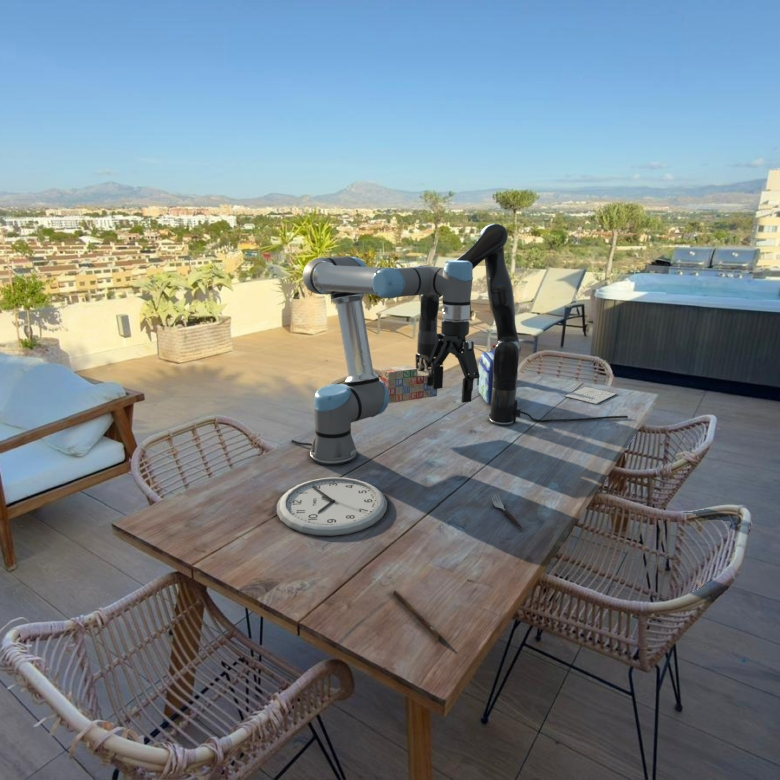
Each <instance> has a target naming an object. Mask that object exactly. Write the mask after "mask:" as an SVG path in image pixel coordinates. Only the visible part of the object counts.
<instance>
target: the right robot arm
mask: <svg viewBox="0 0 780 780" xmlns="http://www.w3.org/2000/svg"><path fill="white" fill-rule="evenodd" d="M508 239H509V234H508V231H507V228H506V227H505V226H504V225H502V224H500V223H492V224H488V225H486V226H485V227H484V228H482V230H481V231H480V234H479V238H478V239H477V240H476V242H475V243H474V244H473V245H472V246H471V247H470V248H469V249H467V251H466V252H464V253H463V254H462V255H461V256H460V257H458V258H456V259H455V260H456V261H469V262H471V263H472V268H473V270H474V269H475V268H476V267H477V266H478V265H479V264H480V263H482V262H483V261H484V265H485V279H486V290H487V298H488V299H487V300H488V304H489V309H490V312H491V315H492V318H493V322H494V324H495V329H496V345H497V346H496V347H495V350H494V360H493V385H492V398H491V404H490V410H489V411H490V413H489V414H488V417H489V422H490V423H491V424H494V425H497V426H511V425H513V424H516V423H517V418H520V417H521V415H525V416H527V417H528V418H529V419H530V420H531V421H533V422H538V423H539V422H540V423H545V422H576V421H577V422H578V421H579V422H580V421H590V420H591V421H592V420H602V419H603V420H605V419H628V417H629V416H628V415H606V416H595V417H581V418H580V417H579V418H550V419H549V418H547V419H537V418H534V417H532V415H531V414H529V413H528V412H525V411H523V410H521V408H520V407H518V399H517V388H518V377H519V373H518V371H519V360H520V355H521V351H522V349H521V348H522V347H521V344H520V339H519V335H518V331H517V326H516V309H515V308H516V306H515V296H514V289H513V284H512V283H513V282H512V280H511V276H510V273H509V271H508V269H507V265H506V258H505V245H506V244H507V242H508ZM441 297H442V296H441V295H434V294H424V295H418V300H419V302H420V310H419V312H420V315H419V316H418V331H417V342H416V343H417V344H416V345H417V346H416V347H417V349H416V353H415V368H417V369H418V371H427V374H428V381H427V385H428V386H432V385H433V378H434V375H433V374H434V366H433V364H432V363H430V362H429V359H430V356H431V353H432V351H433V348H434V345H435V343H436V338H437V334H438V314H439V308H440V299H441ZM430 371H431V372H430Z"/></svg>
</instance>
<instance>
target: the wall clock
mask: <svg viewBox="0 0 780 780" xmlns="http://www.w3.org/2000/svg"><path fill="white" fill-rule="evenodd" d="M387 509H388V500H387V498H386V496H385V494H384V493H383V492H382V491H381V490H380V489H379V488H377V487H376V486H374V485H372V484H371V483H369V482H365V481H362V480H359V479H355V478H349V477H338V476H337V477H335V476H333V477H332V476H331V477H322V478H317V479H312V480H307V481H305V482H302V483H299V484H297V485H295V486H293V487H292V488H290V489H288V490H287V491H286V492H285V493H284V494H283V495H281V496H280V498H279V499H278V502H277V503H276V515H277V517H278V518H279V520H280V521H281V522H282V523H283V524H285V525H286V526H287V527H288V528H290V529H293V530H295V531H297V532H299V533H303V534H308V535H312V536H327V537H328V536H329V537H331V536H332V537H333V536H342V535H350V534H352V533H356V532H361V531H363V530H366V529H368V528H369V527H372V526H373V525H375V524H376V523H378V522H379V521H380V520H381V519H382V518H383V517H384V516H385V514H386V512H387Z"/></svg>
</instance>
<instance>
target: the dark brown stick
mask: <svg viewBox="0 0 780 780" xmlns="http://www.w3.org/2000/svg"><path fill="white" fill-rule="evenodd" d="M392 595H393V596H394V597H395V598H396V599H397V600H398V601H399V602H400V603H401V604H402V605H403V606H404V607H405V608H406V609H407V610H408V612H410V613H411V614H412V615H413V616H414V618H416V619H417V620H418V621H419V622H420V623H421V624H422V625H423V626H424V628H426V629H427V630H428V631H429V633H430V634H431V635H432V636H433V637H434V638H435V639H436V640H437V641H439V640H441V635H440V634H439V633H438V631H436V629H435V628H434V627H433V626H432V625H431V624H430V623H429V622H428V621H427V620H426V619H425V618H424V617H423V616H422V615H421V614H420V613H419V612H418V611H417V610H416V609H415V608H414V607H413V606H412V605H411V604H410V603H409V602H408V601H407V600H406V599H405V598H404V597H403V596H402V595H401V593H399V592H398V591H397V590H394V591H393V593H392Z"/></svg>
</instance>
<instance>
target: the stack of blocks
mask: <svg viewBox="0 0 780 780" xmlns="http://www.w3.org/2000/svg"><path fill="white" fill-rule="evenodd" d="M430 372H431V371H430ZM380 381H382V382H383V383H384V384H385V386H386V387H387V389H388V392H389V403H388V404H393V403H401V402H407V401H414V400H421V399H426V398H427V399H428V398H434V397H438V389H433V385H432V386H428V385H427V381H428V374H427V371H426V370H425V371H418V369H417V368H416V366H413V365H411V364H407V365H397V366H392V367H381V376H380ZM433 384H434V378H433Z"/></svg>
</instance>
